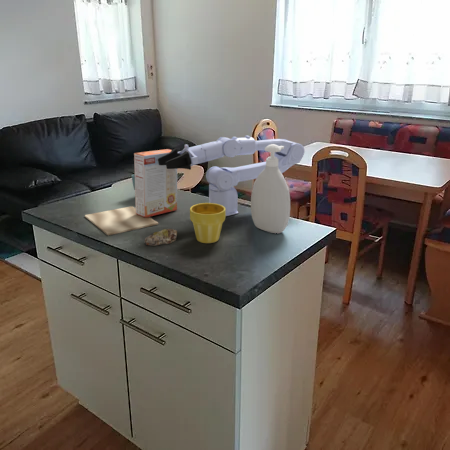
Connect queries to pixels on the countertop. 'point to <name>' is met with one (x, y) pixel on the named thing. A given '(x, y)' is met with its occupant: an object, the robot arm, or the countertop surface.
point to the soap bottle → (271, 196)
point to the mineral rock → (161, 237)
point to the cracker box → (154, 184)
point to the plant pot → (207, 221)
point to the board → (120, 220)
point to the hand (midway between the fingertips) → (162, 163)
